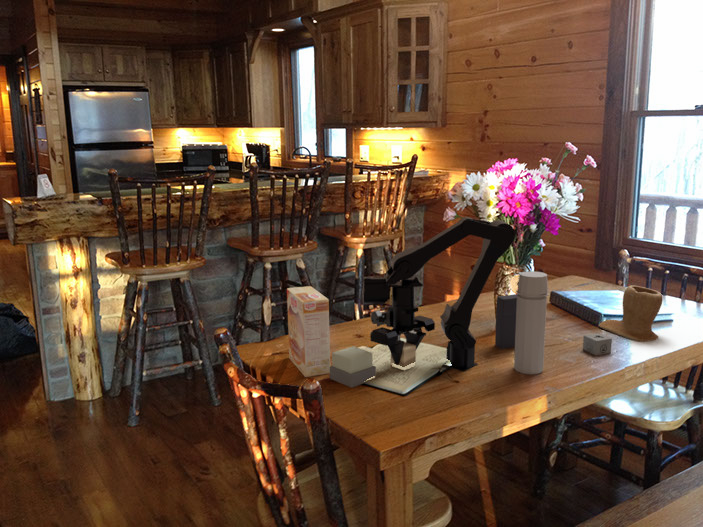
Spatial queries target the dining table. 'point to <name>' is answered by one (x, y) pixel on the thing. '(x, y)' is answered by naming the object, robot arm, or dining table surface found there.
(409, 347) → the wood block
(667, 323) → the dining table surface
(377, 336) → the robot arm
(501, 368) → the dining table surface
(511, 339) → the dark upright pillar
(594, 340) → the grey cube
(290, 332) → the coffeecake box
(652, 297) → the brown hollow flared piece
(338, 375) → the tower base
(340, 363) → the tower top
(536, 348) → the water bottle
